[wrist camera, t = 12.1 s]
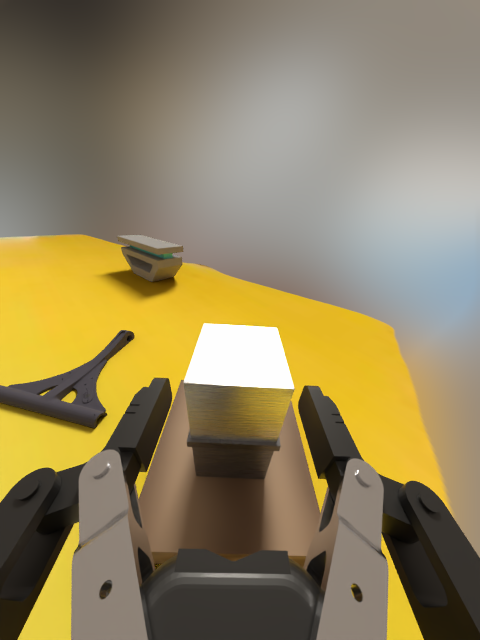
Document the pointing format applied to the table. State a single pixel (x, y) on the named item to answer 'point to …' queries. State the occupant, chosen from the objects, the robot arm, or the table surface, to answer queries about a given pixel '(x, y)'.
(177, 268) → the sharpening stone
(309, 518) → the stand
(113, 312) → the table surface
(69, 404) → the bracket
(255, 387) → the block
